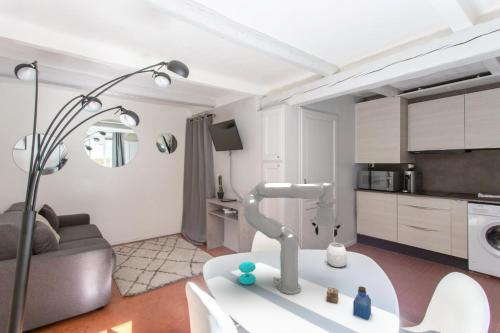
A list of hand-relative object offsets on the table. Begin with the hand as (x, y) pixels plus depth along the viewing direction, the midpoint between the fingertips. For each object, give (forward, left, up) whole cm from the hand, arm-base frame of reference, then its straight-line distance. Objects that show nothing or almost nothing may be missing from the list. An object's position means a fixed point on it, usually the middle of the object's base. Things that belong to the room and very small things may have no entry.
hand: (326, 235), depth 138 cm
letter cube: (+5, -14, -28) cm, 32 cm away
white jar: (+2, +30, -28) cm, 41 cm away
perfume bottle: (+19, -20, -29) cm, 40 cm away
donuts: (-43, -14, -29) cm, 54 cm away
